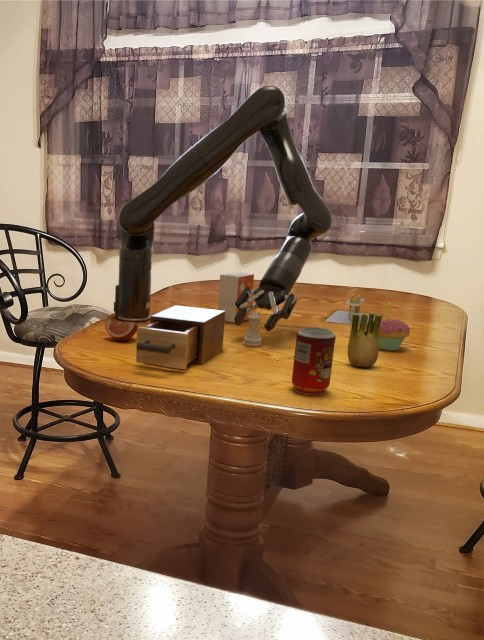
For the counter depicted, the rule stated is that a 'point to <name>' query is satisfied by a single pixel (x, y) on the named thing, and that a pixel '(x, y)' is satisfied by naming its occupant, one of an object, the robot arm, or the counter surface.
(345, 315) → the platform
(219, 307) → the small box
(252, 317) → the rook chess piece
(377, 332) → the fennel bulb
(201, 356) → the cabinet
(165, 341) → the drawer
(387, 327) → the cupcake
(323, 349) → the red food can
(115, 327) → the fruit slice
